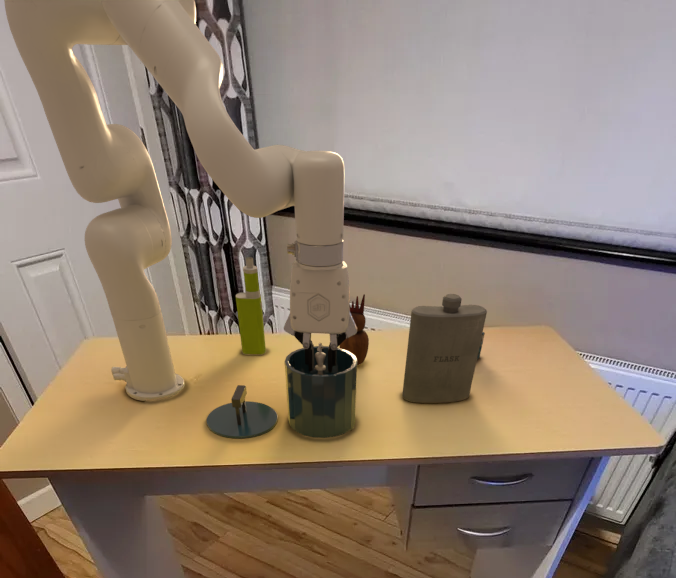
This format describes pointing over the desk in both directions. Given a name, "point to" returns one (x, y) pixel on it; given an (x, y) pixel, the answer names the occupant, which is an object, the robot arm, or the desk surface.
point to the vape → (251, 313)
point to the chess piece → (320, 360)
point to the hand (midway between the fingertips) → (320, 367)
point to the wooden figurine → (360, 339)
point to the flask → (442, 351)
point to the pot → (321, 394)
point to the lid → (241, 417)
